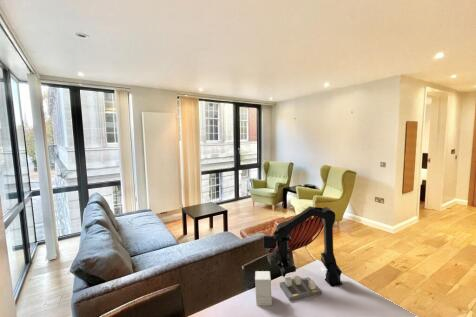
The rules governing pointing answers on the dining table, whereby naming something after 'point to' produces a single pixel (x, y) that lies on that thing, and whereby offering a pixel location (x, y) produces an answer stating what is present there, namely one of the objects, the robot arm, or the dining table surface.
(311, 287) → the switch tab
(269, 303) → the supplement box
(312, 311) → the dining table surface
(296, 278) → the switch tab
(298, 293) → the switch panel
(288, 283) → the switch tab
